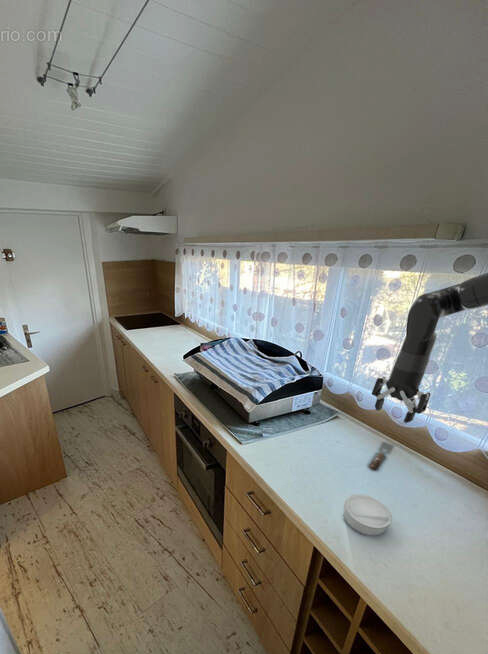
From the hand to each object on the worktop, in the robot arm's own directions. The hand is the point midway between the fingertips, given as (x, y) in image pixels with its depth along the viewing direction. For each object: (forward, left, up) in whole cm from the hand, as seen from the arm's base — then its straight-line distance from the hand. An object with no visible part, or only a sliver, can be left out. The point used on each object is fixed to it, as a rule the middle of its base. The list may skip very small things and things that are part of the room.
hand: (391, 415), depth 93 cm
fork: (-3, -5, -20) cm, 21 cm away
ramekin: (+9, +26, -20) cm, 34 cm away
